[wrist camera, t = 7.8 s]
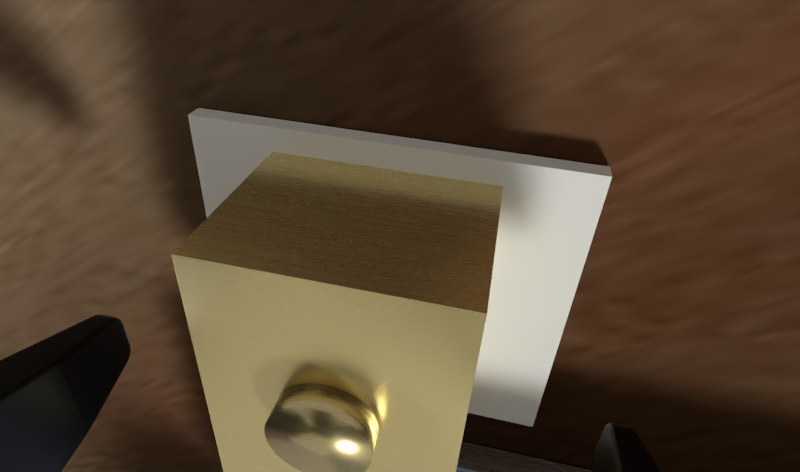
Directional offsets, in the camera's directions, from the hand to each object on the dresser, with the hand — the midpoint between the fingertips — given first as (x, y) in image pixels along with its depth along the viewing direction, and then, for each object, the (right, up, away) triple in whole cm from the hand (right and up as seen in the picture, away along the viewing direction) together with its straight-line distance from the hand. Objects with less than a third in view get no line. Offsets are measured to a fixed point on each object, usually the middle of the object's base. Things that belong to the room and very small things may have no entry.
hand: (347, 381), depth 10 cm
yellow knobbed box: (0, +1, +2) cm, 3 cm away
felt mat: (+1, +2, +2) cm, 3 cm away
